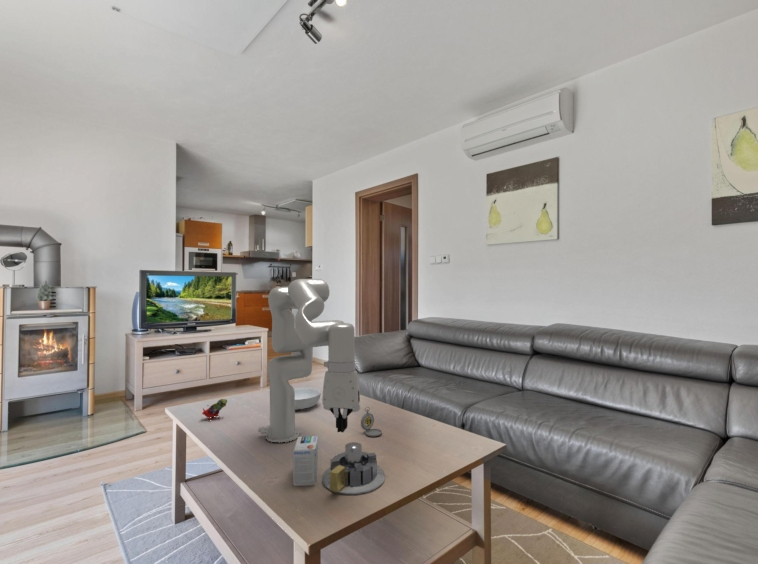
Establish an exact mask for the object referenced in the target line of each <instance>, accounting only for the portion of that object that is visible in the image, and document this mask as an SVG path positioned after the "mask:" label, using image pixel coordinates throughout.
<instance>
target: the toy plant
mask: <svg viewBox="0 0 758 564" xmlns="http://www.w3.org/2000/svg"><path fill="white" fill-rule="evenodd" d="M227 403H228V399H227V398H221V399H218V401H217V402H216V403H213V404H211V405H210V406H209V404H207V407H209V408H207V409H206V410H205V408H202V410H203V412H202V415H204V416H205V417H206V418H207V417H209V418H208V419H211V418H210V417H213V418H214V416H216V417H217V416H219V414H220V411H221V410H222V409H223V408H224V407H226V406H227Z"/></svg>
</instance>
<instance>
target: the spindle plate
mask: <svg viewBox="0 0 758 564" xmlns="http://www.w3.org/2000/svg"><path fill="white" fill-rule="evenodd" d="M344 449H345V450H344V452H345V467H347V468H354V464H358V463H361V464H362V452H363V450H362V449H363V447H362V443H360V442H356V441H354V442H349V443H348V442H347V443H346V444H345V447H344ZM330 471H331V466H329V467H328V468H327V469H326V470H325V471H324V472H323V474H322V481H321V482H322V485H323V487H325V488H326V490H328V491H330ZM385 473H386V472H385V471H384V469H383V468H381V467H380V466H379V465H377V476H376V477H375V479H374V480H373V481H372V480H371V482H369V483H367V484H364V485H362V484H361V485H360V486H350V485H349V486H344V487H343V488H342V489H341V490H339V491H338V492H334V491H330V492H332V493H334V494H337V495H341V496H359V495H364V494H366V495H367V494H369V493H372V492H374V491H376V490H378V489H379V488H380V487H382V486H383V484H384V483H385V479H386V475H385Z"/></svg>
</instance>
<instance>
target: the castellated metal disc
mask: <svg viewBox="0 0 758 564" xmlns="http://www.w3.org/2000/svg"><path fill="white" fill-rule="evenodd" d="M377 466H378V460H377V454H376V452H367V451H362V464H361V463H358V464H354V468H347V467H345V451H344V452H341V453H338V454H337V455H335V456H333V457H332V458H330V467H331V471H330V492H331V491H334V492H338V491H339V490H341V489H342V488H343V487H344V486H349V485H350V486H360V485H361V484H362V485H364V484H367V483H369V482H371V480H372V481H373V480H374V479H375V477H376V476H377ZM334 492H333V493H334Z"/></svg>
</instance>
